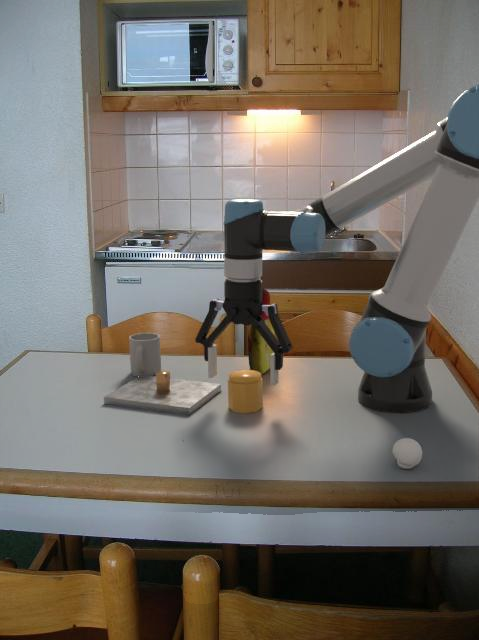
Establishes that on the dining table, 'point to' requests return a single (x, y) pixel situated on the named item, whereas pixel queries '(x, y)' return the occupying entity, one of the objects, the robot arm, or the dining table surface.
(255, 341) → the bottle
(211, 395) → the plate
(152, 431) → the dining table surface
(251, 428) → the dining table surface
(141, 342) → the cup
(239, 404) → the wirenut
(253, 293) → the robot arm
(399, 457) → the mushroom
